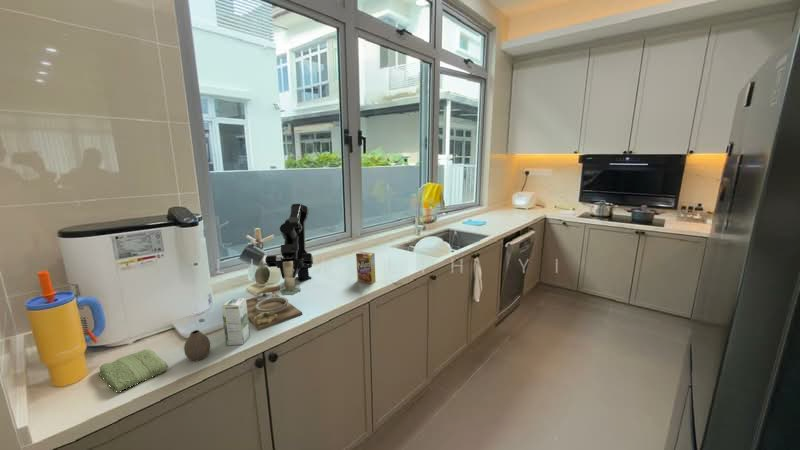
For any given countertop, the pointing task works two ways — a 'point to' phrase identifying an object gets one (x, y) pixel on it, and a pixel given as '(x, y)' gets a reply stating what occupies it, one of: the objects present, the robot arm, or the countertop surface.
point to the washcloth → (132, 369)
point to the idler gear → (289, 280)
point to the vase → (197, 346)
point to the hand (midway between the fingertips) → (288, 278)
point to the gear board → (271, 305)
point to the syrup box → (235, 321)
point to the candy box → (365, 267)
